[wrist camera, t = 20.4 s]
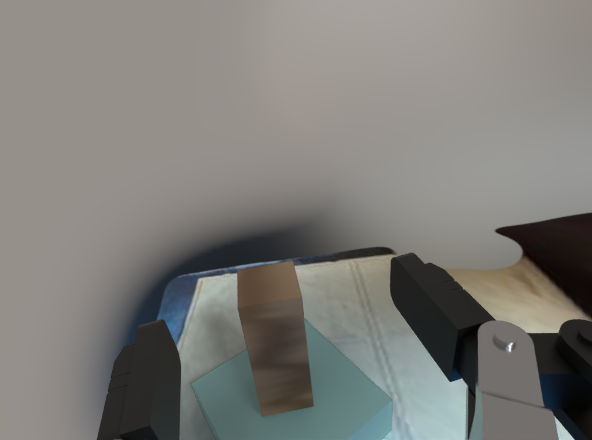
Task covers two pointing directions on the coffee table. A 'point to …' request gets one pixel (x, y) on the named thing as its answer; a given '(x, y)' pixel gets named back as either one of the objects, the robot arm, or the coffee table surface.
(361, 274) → the coffee table surface
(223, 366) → the teal block
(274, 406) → the walnut pillar
